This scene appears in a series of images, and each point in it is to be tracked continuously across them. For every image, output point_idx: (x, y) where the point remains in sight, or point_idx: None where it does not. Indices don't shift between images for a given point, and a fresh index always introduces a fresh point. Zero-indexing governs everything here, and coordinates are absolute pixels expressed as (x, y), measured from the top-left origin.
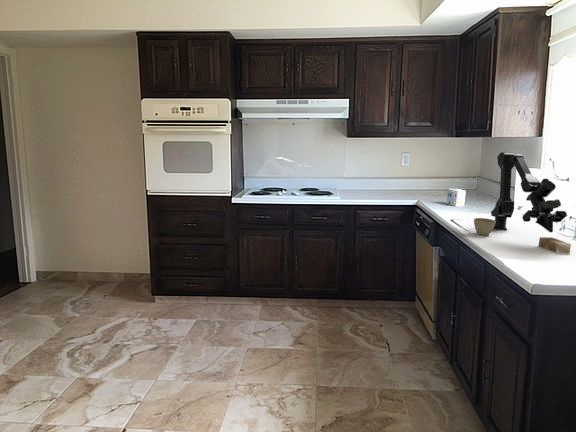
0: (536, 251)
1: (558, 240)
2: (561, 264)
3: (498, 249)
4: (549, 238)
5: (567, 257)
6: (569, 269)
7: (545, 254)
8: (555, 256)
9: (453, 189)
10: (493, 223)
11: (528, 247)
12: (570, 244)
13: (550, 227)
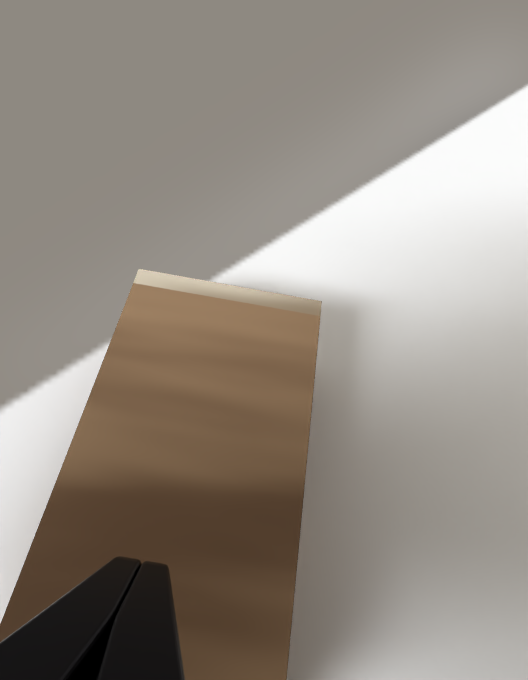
0: (511, 445)
1: (114, 460)
2: (510, 152)
3: None
4: None
5: (328, 238)
6: (520, 100)
7: (476, 338)
8: (419, 276)
9: None
10: None
11: (516, 654)
12: (146, 274)
13: (130, 638)
